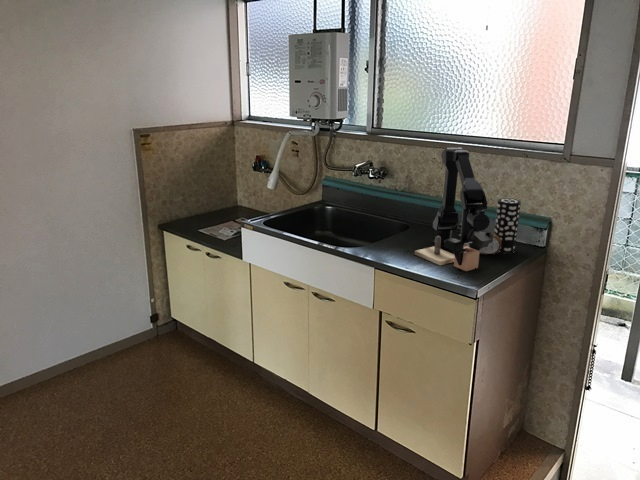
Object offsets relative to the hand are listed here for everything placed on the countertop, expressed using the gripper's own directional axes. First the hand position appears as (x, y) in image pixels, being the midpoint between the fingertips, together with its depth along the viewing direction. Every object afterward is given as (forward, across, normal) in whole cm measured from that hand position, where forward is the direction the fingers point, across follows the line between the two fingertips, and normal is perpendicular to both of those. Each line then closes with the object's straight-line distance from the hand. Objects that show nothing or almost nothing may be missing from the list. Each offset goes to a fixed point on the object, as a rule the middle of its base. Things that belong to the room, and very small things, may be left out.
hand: (466, 263), depth 189 cm
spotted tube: (+2, +27, +6) cm, 27 cm away
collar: (+1, 0, 0) cm, 1 cm away
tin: (+2, +16, +8) cm, 18 cm away
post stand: (+1, -2, +13) cm, 13 cm away
